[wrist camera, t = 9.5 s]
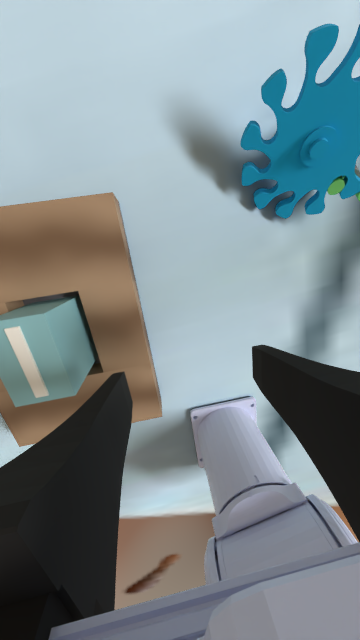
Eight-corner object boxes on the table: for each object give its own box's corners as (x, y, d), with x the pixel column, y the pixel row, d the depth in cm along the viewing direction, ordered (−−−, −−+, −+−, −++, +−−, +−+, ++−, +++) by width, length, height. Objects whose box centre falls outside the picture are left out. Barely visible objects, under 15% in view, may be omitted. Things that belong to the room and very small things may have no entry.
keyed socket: (161, 399, 22) (162, 416, 20) (34, 425, 21) (19, 446, 19) (118, 201, 16) (112, 192, 14) (-66, 225, 15) (-107, 220, 13)
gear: (210, 168, 15) (393, -99, 7) (217, 137, 18) (352, -75, 10) (298, 249, 19) (473, 139, 11) (292, 213, 22) (428, 106, 14)
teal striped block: (98, 354, 19) (74, 396, 13) (56, 362, 19) (14, 408, 13) (80, 294, 17) (42, 314, 12) (33, 302, 17) (-29, 326, 11)
